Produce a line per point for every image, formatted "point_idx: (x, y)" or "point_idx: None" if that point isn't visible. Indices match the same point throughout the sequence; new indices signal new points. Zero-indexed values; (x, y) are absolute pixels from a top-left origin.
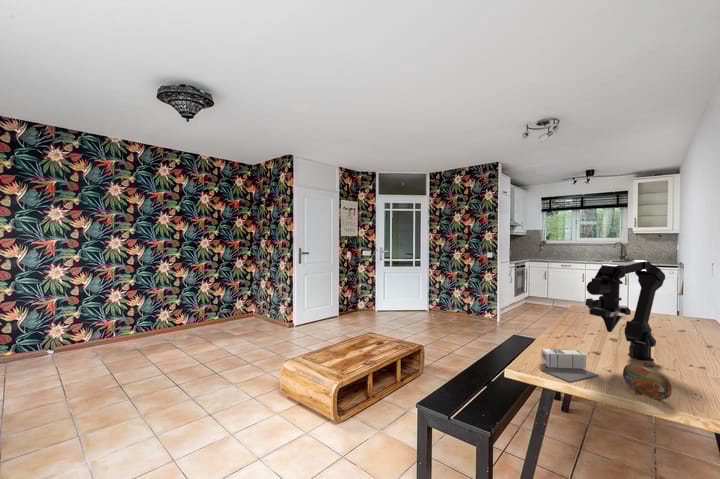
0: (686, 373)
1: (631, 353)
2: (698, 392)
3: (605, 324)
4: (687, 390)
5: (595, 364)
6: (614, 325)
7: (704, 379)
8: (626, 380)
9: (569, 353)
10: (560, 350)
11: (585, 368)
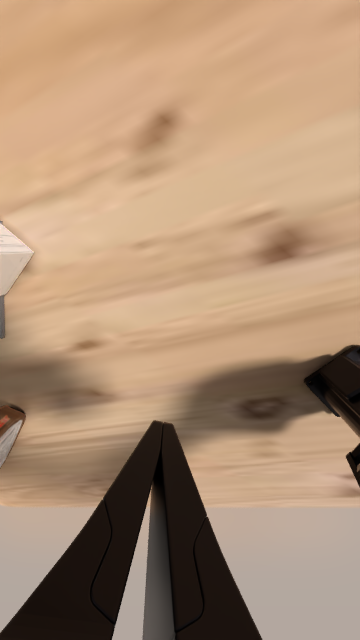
0: (258, 474)
1: (334, 369)
2: None
3: (110, 489)
4: None
5: (109, 295)
6: (149, 554)
7: (238, 497)
8: (5, 409)
9: None
10: None
11: (4, 293)
